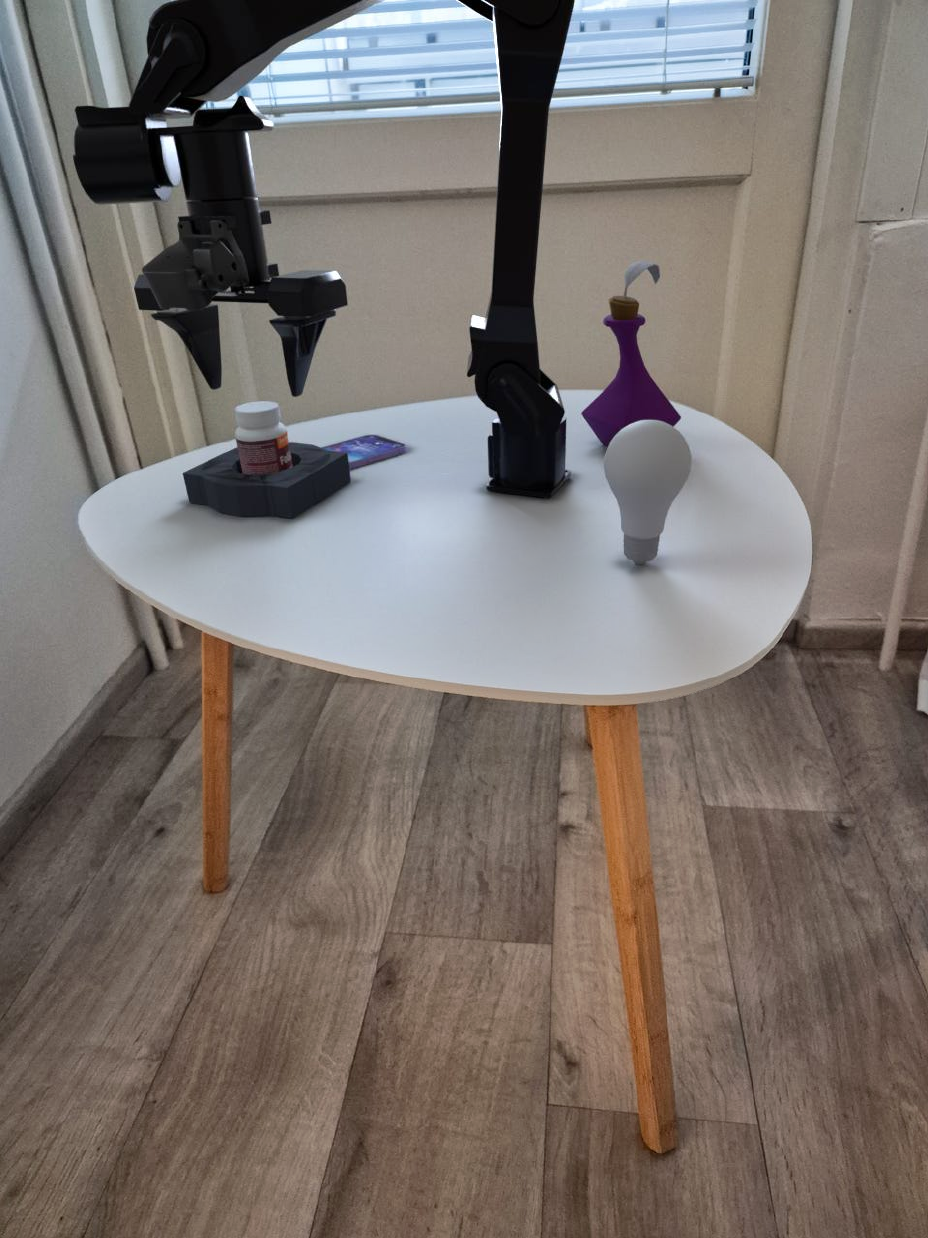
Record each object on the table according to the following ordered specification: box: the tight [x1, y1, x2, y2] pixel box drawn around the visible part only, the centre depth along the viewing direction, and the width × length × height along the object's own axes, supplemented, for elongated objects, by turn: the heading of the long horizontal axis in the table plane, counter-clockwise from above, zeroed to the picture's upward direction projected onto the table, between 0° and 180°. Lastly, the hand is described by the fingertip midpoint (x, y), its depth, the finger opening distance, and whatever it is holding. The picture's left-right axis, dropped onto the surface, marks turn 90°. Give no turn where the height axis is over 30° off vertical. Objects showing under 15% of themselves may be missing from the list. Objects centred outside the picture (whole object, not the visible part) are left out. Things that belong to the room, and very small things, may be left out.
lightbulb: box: [603, 420, 692, 565], centre depth 58 cm, size 6×6×11 cm
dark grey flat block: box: [182, 441, 352, 520], centre depth 77 cm, size 12×12×3 cm
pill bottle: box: [234, 400, 292, 475], centre depth 75 cm, size 5×5×8 cm
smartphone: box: [321, 434, 407, 470], centre depth 85 cm, size 7×1×15 cm
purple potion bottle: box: [580, 261, 682, 447], centre depth 80 cm, size 8×8×18 cm
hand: (255, 392), depth 72 cm, fingers open, 9 cm apart
